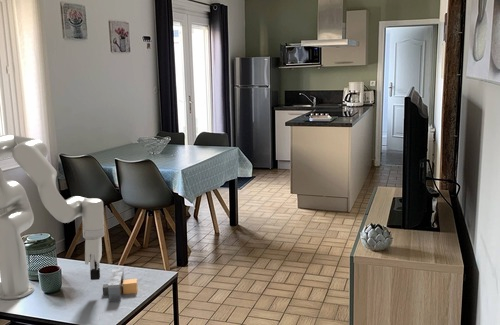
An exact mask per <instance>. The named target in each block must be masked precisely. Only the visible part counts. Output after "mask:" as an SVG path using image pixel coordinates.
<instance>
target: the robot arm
mask: <svg viewBox="0 0 500 325" xmlns="http://www.w3.org/2000/svg"><path fill="white" fill-rule="evenodd" d="M48 153H49V151H48V147H47V145H46V143H45V142H44V141H42V140H40V139H38V138H33V137H26V136H21V135H14V134H2V135H0V160H4V159H7V158H13V160H14V161H15V163H16V164H17V165H18V167H20V168H21V169H22V171H24V172H25V174H26V175H27V176H28V177H29V178H30V180H31V181H32V182H33V183H34V184H35V185H36V187H37V191H38V196H39V198H40V200H41V202H42V203H41V204H42V205H43V206H44V207H45V209H46V210H47V211H48V212H49V214H50V215H51V216H53V217H54V218H55V220H57V221H58V222H61V223H64V224H66V223H67V224H69V223H70V222H73V221H74V220H76V218H79V217H82V218H81V219H82V220H81V221H82V237H83V238H84V239H85V242H84V264H85V265H86V266H87V265H89V266H90V267H89V268H90V269H89V274H90V280H91V281H98V280H100V278H101V268H100V262H101V259H102V256H103V254H102V252H103V246H102V245H103V244H102V238H103V237H105V217H104V216H105V215H104V212H105V208H104V201H103V200H102V199H100V198H96V197H95V198H94V197H92V198H87V197H83V196H79V195H74V196H71V197H68V198H67V199H65V198H64V197H63V196H62V195H61V194H60V191H59V190H58V187H57V185H56V184H57V183H56V182H57V181H56V180H57V177H58V172H57V171H58V170H56V169H55V167H54V166H53V165H52V164H51V163H50V161H48V159H47V158H46V157H47V156H48ZM32 209H33V208H32V206H31V203H30V200H29V197H28V195H27V192H26V189H25V188H24V186H23V185H22V184H21V183H19V182H18V181H16V180H7V179H6V177H5V174H4V171H3V170H2V168H1V167H0V211H3V210H4V211H5V210H6V211H5V212H4V213H2V214H0V300H8V301H9V300H16V299H21V298H23V297H27V296H29V295H30V294H32V293H34V291H35V286H34V284H32V283H30V280H29V270H28V261H27V253H26V246H25V242H24V240H23V238H22V237H21V234H22V233H23V232H25V231H26V230H28V229H30V227H31V226H32V225H33V224H34V220H35V219H34V218H35V217H34V215H35V214H34V212H33V210H32Z"/></svg>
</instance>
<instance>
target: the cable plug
mask: <svg viewBox="0 0 500 325" xmlns="http://www.w3.org/2000/svg"><path fill="white" fill-rule="evenodd" d="M108 284H109V283H105V284H103V285H102V295H103V296H109V293H108ZM121 290H122V295H126V294H128V295H129V294H137V293H138V290H139V287H138V278H129V279H124V281H123V283H121Z"/></svg>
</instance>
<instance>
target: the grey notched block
mask: <svg viewBox="0 0 500 325" xmlns="http://www.w3.org/2000/svg"><path fill="white" fill-rule="evenodd" d="M124 270H125V268H124V267H116V268H115V267H113V268H112V270H111V273H110V277H109V280H108V283H107V284H108V293H109V295H108V302H109V303H117V302H121V301H122V297H123V294H122V290H121V283H123V281H124V280H125V272H124Z"/></svg>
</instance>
